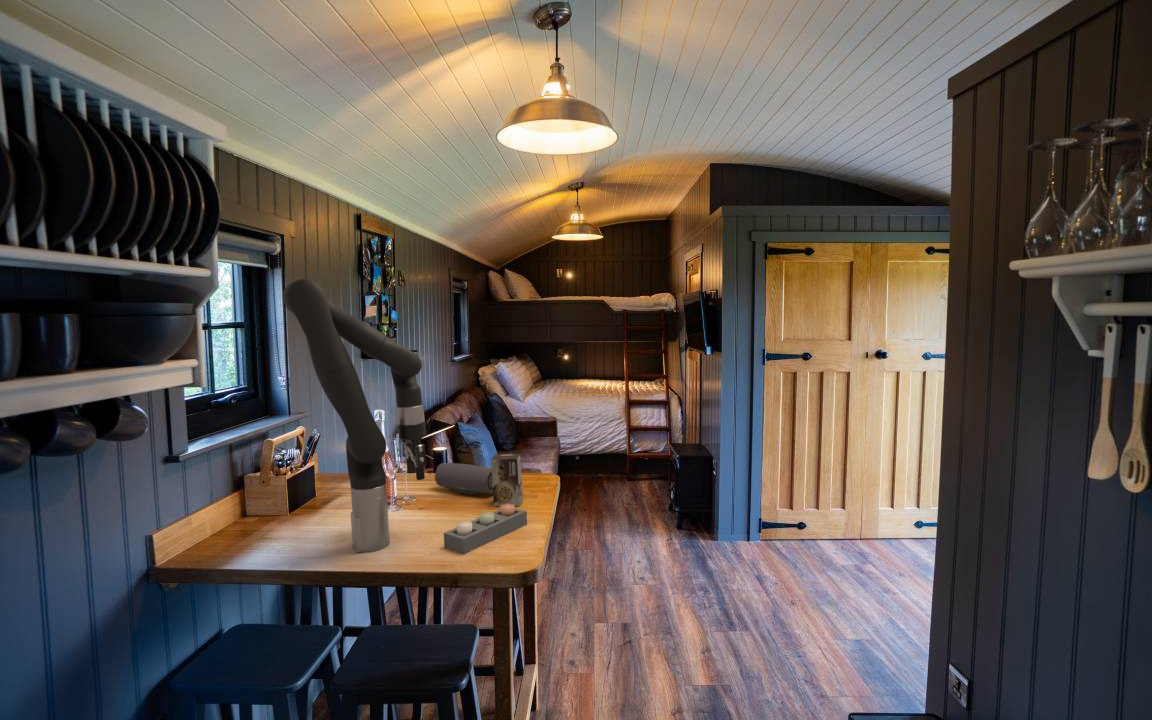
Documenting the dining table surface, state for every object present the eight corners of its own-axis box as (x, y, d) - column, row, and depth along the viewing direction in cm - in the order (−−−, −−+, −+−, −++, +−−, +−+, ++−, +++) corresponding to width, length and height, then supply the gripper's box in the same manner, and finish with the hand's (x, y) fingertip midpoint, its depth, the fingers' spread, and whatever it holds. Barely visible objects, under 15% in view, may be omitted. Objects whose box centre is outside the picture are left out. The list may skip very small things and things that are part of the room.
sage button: (487, 529, 159) (486, 518, 159) (476, 526, 162) (476, 515, 162) (497, 524, 163) (497, 513, 162) (487, 521, 165) (486, 511, 165)
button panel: (464, 553, 150) (463, 539, 150) (444, 547, 155) (443, 532, 155) (527, 524, 170) (526, 511, 170) (507, 518, 175) (507, 506, 174)
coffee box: (523, 500, 192) (521, 453, 191) (519, 506, 186) (517, 458, 184) (497, 500, 193) (495, 453, 192) (492, 506, 187) (490, 458, 185)
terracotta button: (508, 520, 166) (507, 509, 166) (497, 517, 169) (497, 506, 168) (517, 515, 169) (517, 505, 169) (507, 513, 172) (507, 502, 172)
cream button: (464, 539, 153) (463, 528, 152) (453, 536, 155) (453, 525, 155) (475, 534, 156) (475, 523, 156) (465, 531, 158) (464, 520, 158)
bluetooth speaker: (502, 491, 202) (500, 464, 201) (486, 500, 194) (485, 471, 193) (451, 484, 212) (449, 458, 211) (434, 492, 204) (433, 465, 203)
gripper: (390, 419, 166) (396, 473, 167) (405, 427, 154) (410, 485, 155) (416, 415, 170) (420, 468, 171) (432, 422, 158) (437, 479, 159)
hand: (416, 476), depth 163 cm, fingers open, 8 cm apart
